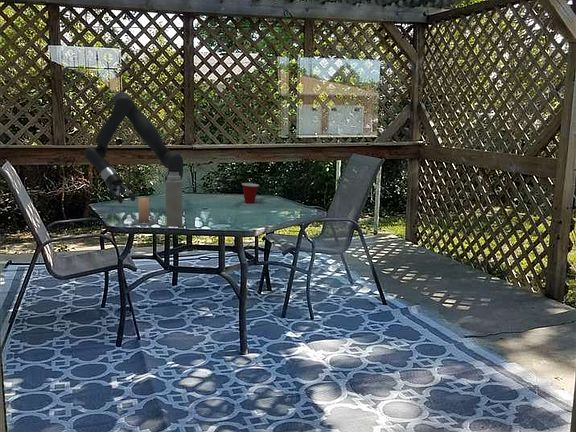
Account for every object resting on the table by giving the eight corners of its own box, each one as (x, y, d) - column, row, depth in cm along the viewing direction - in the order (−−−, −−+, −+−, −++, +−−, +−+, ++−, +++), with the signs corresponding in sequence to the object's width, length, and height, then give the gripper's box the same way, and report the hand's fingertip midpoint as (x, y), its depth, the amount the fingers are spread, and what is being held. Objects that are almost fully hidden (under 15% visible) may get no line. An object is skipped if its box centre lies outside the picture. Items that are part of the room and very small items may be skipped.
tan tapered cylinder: (148, 220, 317) (148, 197, 315) (149, 222, 312) (149, 198, 310) (138, 220, 315) (137, 197, 313) (139, 222, 310) (138, 199, 308)
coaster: (154, 220, 321) (154, 219, 321) (157, 224, 310) (157, 223, 310) (130, 221, 317) (130, 220, 317) (132, 225, 306) (132, 224, 306)
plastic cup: (258, 204, 379) (258, 185, 377) (240, 204, 379) (240, 184, 377) (259, 201, 390) (259, 182, 388) (242, 201, 390) (242, 182, 388)
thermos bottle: (167, 223, 314) (166, 168, 309) (183, 223, 314) (183, 168, 309) (165, 226, 306) (164, 170, 301) (181, 226, 306) (180, 170, 301)
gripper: (118, 180, 329) (134, 204, 325) (97, 183, 317) (114, 207, 313) (125, 171, 325) (141, 195, 321) (104, 174, 313) (121, 198, 309)
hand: (127, 201), depth 317 cm, fingers open, 8 cm apart
